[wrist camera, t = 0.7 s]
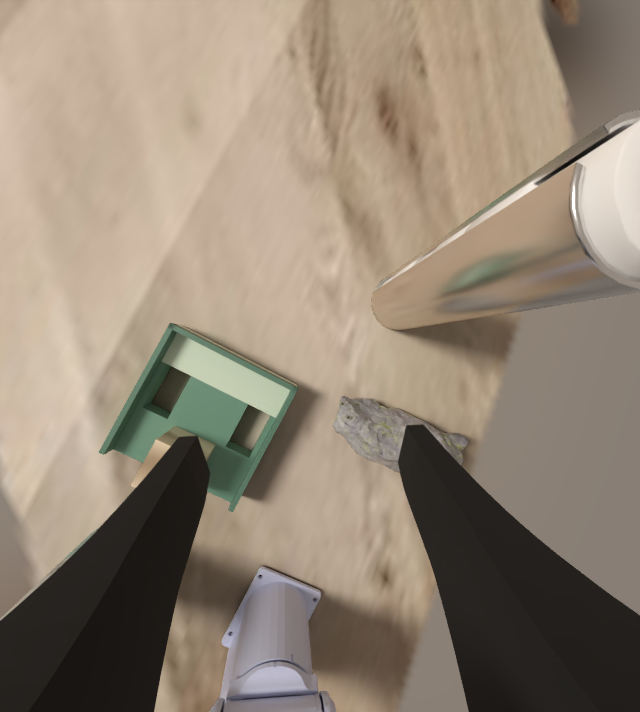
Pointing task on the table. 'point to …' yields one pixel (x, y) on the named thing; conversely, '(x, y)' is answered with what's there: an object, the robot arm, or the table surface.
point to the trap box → (203, 407)
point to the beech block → (161, 448)
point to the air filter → (533, 241)
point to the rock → (385, 431)
